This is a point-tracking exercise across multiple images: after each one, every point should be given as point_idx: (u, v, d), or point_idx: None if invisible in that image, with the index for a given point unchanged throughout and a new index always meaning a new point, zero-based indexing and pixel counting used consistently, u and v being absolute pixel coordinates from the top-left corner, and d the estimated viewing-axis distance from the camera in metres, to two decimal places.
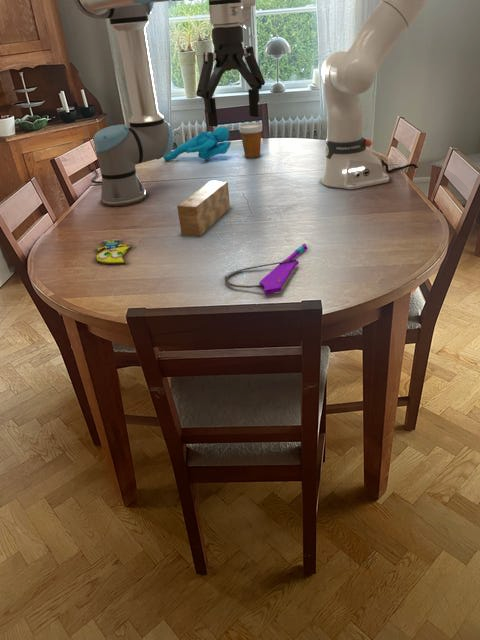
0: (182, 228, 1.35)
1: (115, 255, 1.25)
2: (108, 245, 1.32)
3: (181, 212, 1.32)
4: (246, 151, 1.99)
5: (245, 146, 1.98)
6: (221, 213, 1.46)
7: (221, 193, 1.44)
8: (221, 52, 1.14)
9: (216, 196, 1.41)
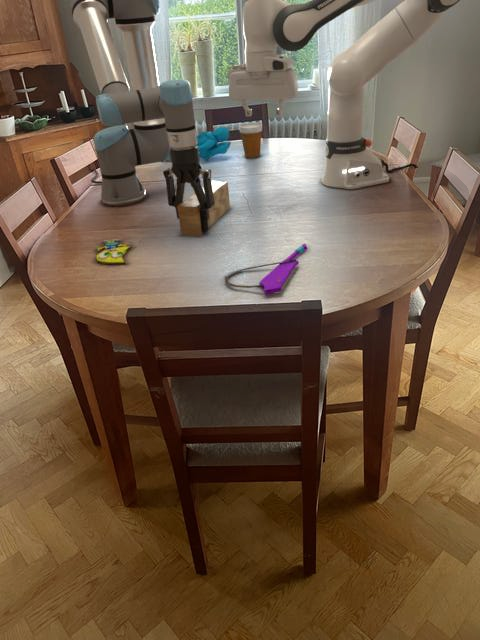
0: (182, 228, 1.35)
1: (115, 255, 1.25)
2: (108, 245, 1.32)
3: (181, 212, 1.32)
4: (246, 151, 1.99)
5: (245, 146, 1.98)
6: (221, 213, 1.46)
7: (221, 193, 1.44)
8: (174, 167, 1.28)
9: (216, 196, 1.41)
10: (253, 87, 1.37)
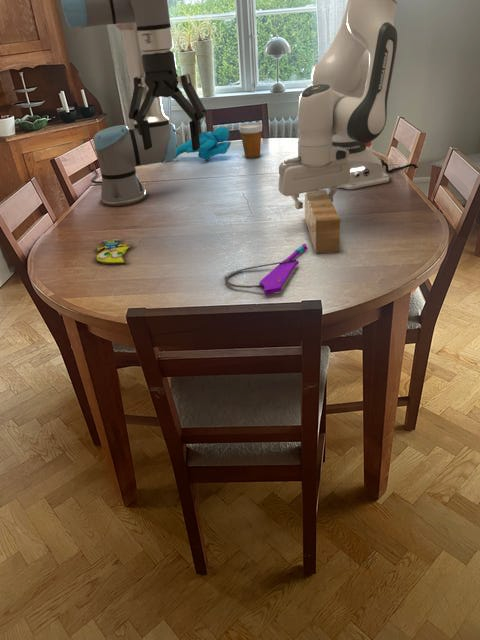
0: (318, 246, 1.18)
1: (115, 255, 1.25)
2: (108, 245, 1.32)
3: (320, 228, 1.16)
4: (246, 151, 1.99)
5: (245, 146, 1.98)
6: None
7: None
8: (147, 78, 1.11)
9: None
10: (311, 180, 1.27)
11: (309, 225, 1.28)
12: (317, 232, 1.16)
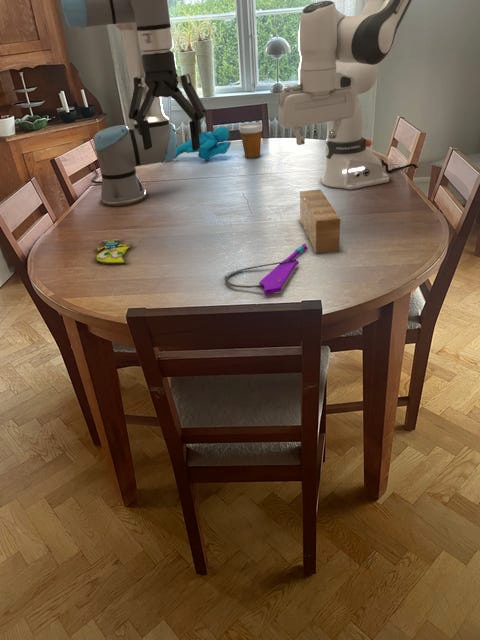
0: (318, 245, 1.18)
1: (115, 255, 1.25)
2: (108, 245, 1.32)
3: (320, 228, 1.16)
4: (246, 151, 1.99)
5: (245, 146, 1.98)
6: None
7: None
8: (147, 78, 1.11)
9: None
10: (313, 110, 1.17)
11: (306, 225, 1.28)
12: (317, 232, 1.16)
